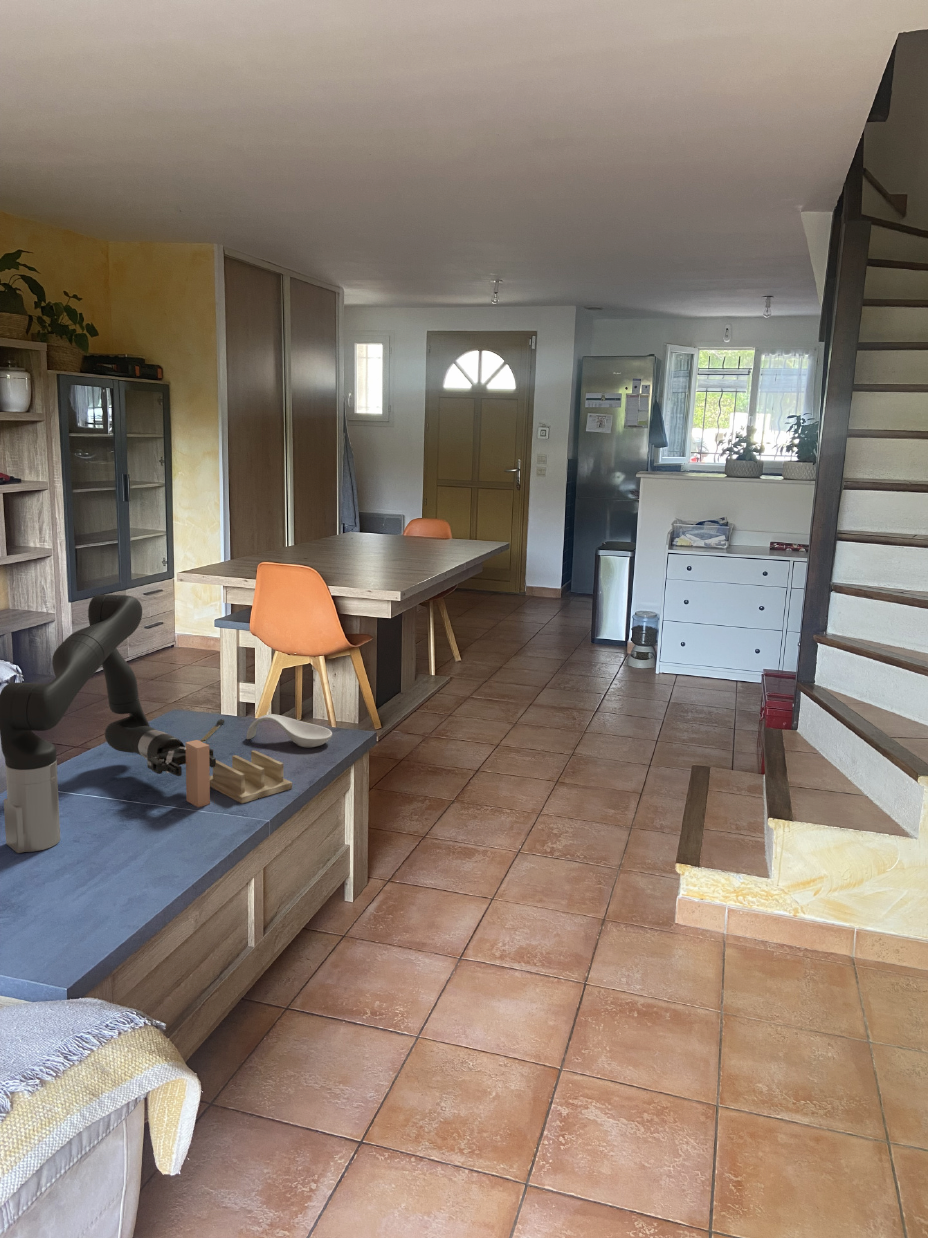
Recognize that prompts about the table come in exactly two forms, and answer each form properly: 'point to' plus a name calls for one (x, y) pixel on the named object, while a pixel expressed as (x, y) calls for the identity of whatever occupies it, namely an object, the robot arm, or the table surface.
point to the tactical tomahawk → (212, 730)
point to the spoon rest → (295, 730)
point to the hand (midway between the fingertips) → (197, 767)
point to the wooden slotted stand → (249, 777)
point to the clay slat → (197, 773)
